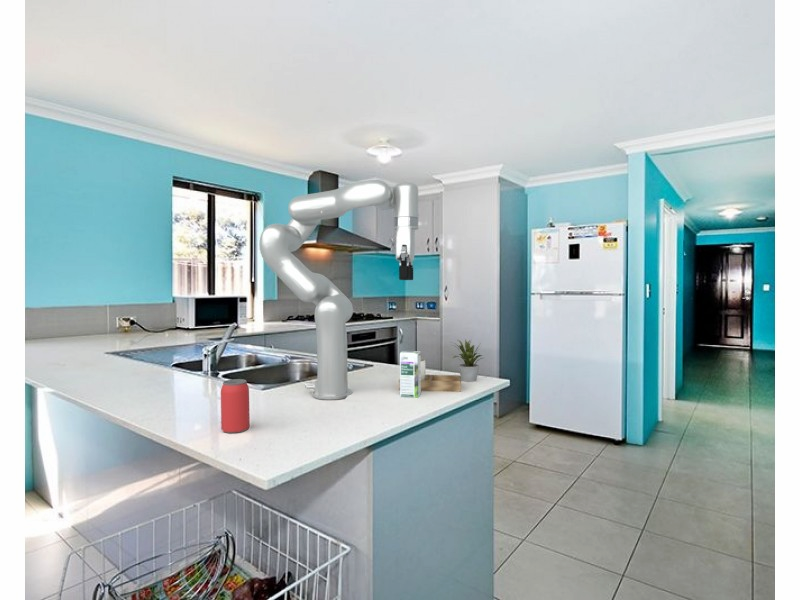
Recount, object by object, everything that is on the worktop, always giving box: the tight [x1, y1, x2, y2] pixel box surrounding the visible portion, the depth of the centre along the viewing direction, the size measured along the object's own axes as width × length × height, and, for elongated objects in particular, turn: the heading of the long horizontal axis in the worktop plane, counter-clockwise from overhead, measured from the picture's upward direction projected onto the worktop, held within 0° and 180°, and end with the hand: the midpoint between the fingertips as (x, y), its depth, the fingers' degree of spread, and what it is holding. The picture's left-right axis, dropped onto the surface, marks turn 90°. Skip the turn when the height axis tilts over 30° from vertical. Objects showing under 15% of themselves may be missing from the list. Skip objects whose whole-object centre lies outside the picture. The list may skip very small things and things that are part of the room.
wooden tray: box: [398, 374, 462, 393], centre depth 158 cm, size 20×10×4 cm, turn 82°
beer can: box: [220, 378, 251, 434], centre depth 116 cm, size 7×7×12 cm
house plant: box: [450, 339, 484, 383], centre depth 169 cm, size 14×14×16 cm
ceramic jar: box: [421, 356, 426, 380], centre depth 158 cm, size 6×6×10 cm
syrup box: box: [399, 350, 422, 399], centre depth 147 cm, size 6×6×14 cm
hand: (406, 279), depth 146 cm, fingers open, 9 cm apart
